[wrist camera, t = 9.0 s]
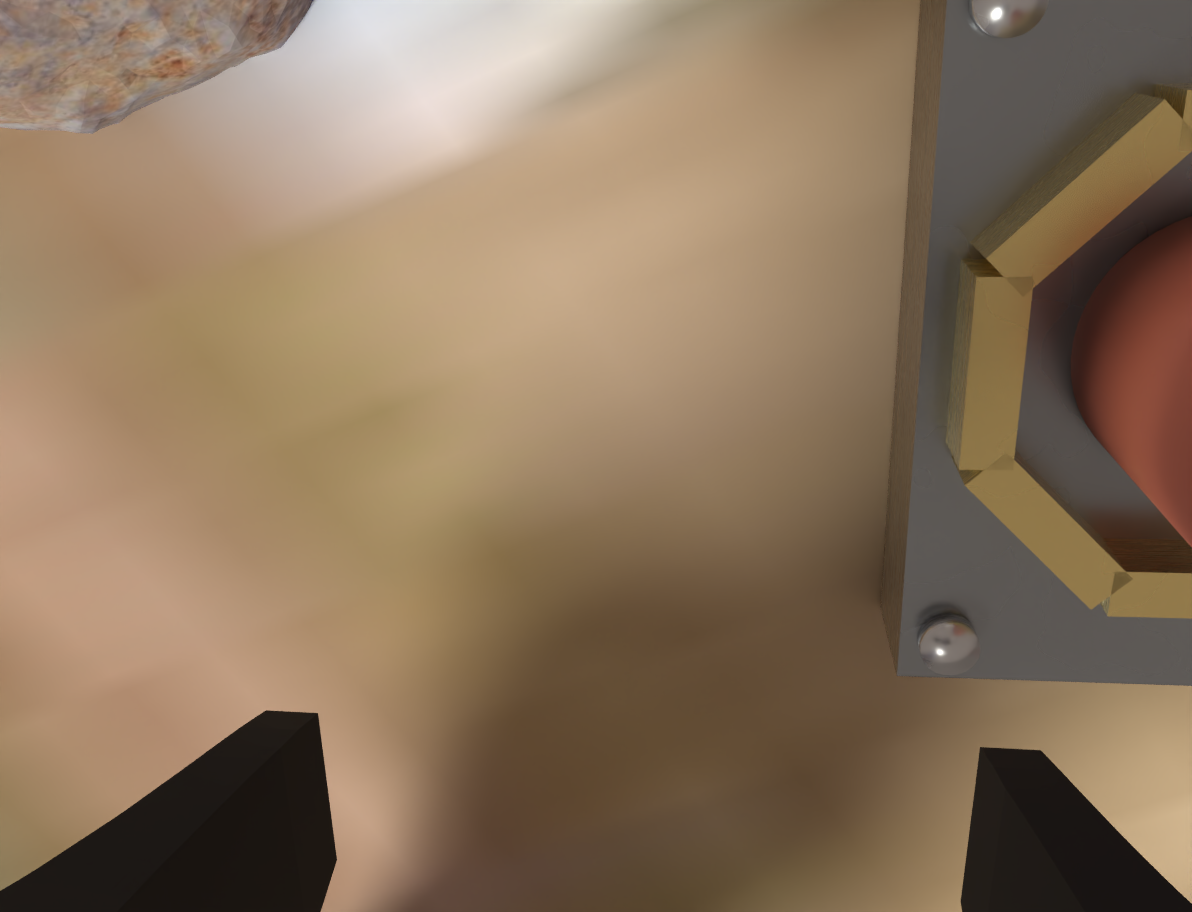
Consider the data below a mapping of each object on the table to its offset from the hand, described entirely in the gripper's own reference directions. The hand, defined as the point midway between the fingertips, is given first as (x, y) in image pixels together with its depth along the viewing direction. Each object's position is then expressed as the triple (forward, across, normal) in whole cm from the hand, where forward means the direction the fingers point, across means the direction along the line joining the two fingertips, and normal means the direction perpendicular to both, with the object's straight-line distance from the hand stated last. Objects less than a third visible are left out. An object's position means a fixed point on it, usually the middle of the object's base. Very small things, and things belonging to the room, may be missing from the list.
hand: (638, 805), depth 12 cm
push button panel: (+10, -8, -3) cm, 14 cm away
